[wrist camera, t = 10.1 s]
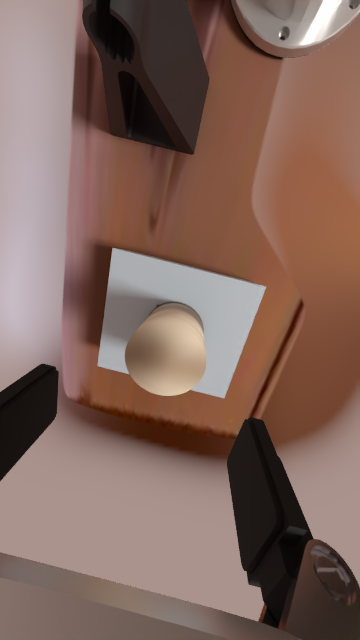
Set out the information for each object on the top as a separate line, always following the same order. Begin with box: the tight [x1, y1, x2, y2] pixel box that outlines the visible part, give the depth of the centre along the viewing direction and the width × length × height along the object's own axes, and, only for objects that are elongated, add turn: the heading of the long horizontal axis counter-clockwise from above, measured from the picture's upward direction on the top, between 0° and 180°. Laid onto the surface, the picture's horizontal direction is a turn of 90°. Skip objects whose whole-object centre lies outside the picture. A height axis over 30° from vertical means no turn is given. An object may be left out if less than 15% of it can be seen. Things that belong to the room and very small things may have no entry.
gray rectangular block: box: [98, 248, 266, 398], centre depth 24 cm, size 14×16×4 cm
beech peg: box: [125, 302, 206, 396], centre depth 21 cm, size 6×6×11 cm
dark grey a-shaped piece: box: [82, 0, 209, 155], centre depth 14 cm, size 9×6×12 cm, turn 76°
